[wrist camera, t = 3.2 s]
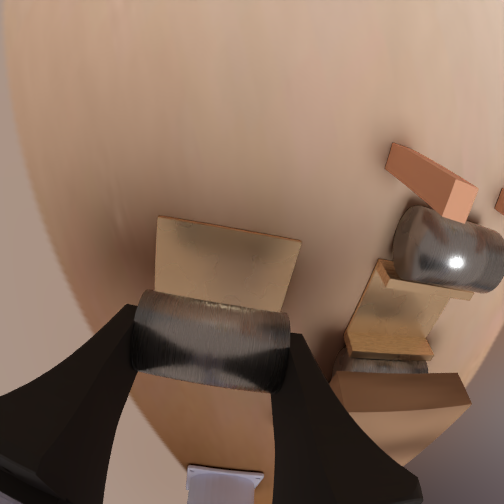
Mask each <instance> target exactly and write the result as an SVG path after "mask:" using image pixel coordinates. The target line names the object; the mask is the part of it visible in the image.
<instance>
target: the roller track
mask: <svg viewBox="0 0 504 504" xmlns="http://www.w3.org/2000/svg"><path fill="white" fill-rule="evenodd" d="M301 243H302V242H301V241H300V240H295V239H290V238H284V237H279V236H273V235H268V234H262V233H257V232H251V231H246V230H240V229H235V228H229V227H224V226H218V225H212V224H206V223H201V222H195V221H189V220H183V219H177V218H171V217H166V216H160V215H159V216H158V218H157V234H156V256H155V291H158V292H163V293H169V294H174V295H179V296H185V297H190V298H195V299H201V300H207V301H212V302H218V303H224V304H230V305H236V306H242V307H248V308H255V309H261V310H268V311H274V312H280V311H281V308H282V304H283V301H284V298H285V295H286V292H287V289H288V286H289V282H290V279H291V276H292V273H293V270H294V266H295V263H296V260H297V256H298V253H299V250H300V247H301ZM503 276H504V239H503V238H502V236H501V235H500V234H499V233H498V232H496V231H494V230H491V229H489V228H486V227H483V226H480V225H478V224H475V223H472V222H469V221H466V222H465V224H464V223H461V222H457V221H454V220H451V219H448V218H445V217H442V216H441V215H440V214H439V213H437V212H436V211H435V210H433V209H429V208H426V207H423V206H419V205H416V206H413V207H411V208H409V209H408V210H407V211H406V212H405V214H404V215H403V216H402V218H401V220H400V222H399V224H398V227H397V229H396V233H395V237H394V242H393V261H388V260H383V259H378V261H377V264H376V266H375V268H374V271H373V273H372V275H371V278H370V280H369V282H368V284H367V287H366V289H365V291H364V293H363V295H362V298H361V300H360V302H359V304H358V306H357V308H356V310H355V312H354V314H353V316H352V319H351V321H350V323H349V325H348V327H347V329H346V331H345V333H344V335H343V336H344V340H345V343H346V347H347V348H343V349H342V350H341V351H340V352H339V354H338V356H337V358H336V360H335V363H334V367H333V372H332V378H333V376H334V375H335V373H336V371H349V372H368V373H410V374H423V373H428V367H427V363H426V361H430V360H431V359H432V358H433V356H434V354H433V352H432V350H431V348H430V346H429V343H428V341H427V339H426V337H427V335H428V334H429V332H430V331H431V329H432V328H433V326H434V324H435V323H436V321H437V320H438V318H439V316H440V315H441V313H442V311H443V310H444V308H445V306H446V304H447V303H448V301H449V299H450V298H455V299H462V300H468V301H470V299H471V298H472V296H473V294H474V292H477V293H488V292H490V291H492V290H493V289H495V288H496V287H497V286H498V284H499V283H500V282H501V280H502V278H503Z"/></svg>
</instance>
